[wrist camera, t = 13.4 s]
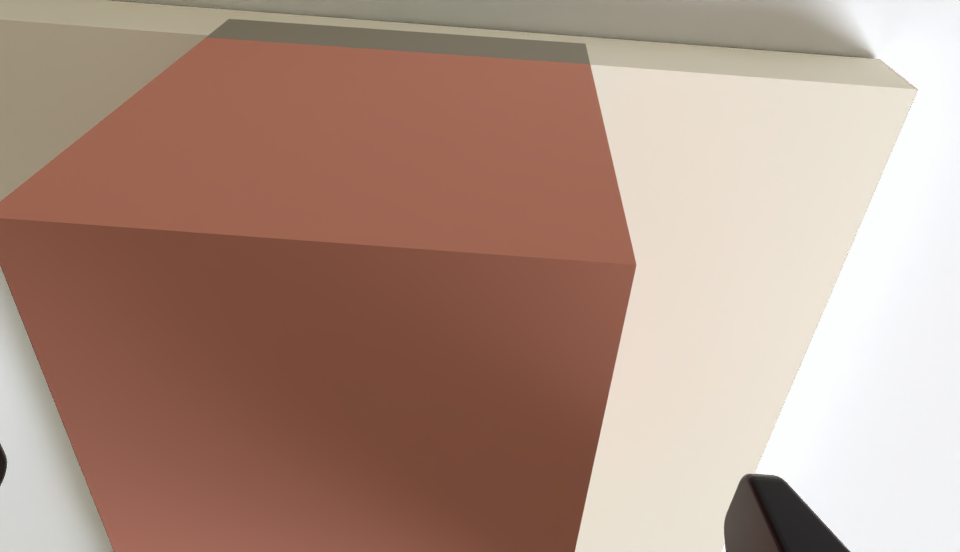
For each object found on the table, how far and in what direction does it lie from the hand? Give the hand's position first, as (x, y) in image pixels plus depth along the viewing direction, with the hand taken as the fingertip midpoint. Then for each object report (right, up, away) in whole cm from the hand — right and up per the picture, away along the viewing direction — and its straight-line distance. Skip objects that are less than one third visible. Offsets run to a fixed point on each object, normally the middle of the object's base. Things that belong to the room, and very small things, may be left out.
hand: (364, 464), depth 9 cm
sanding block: (0, +2, +3) cm, 3 cm away
